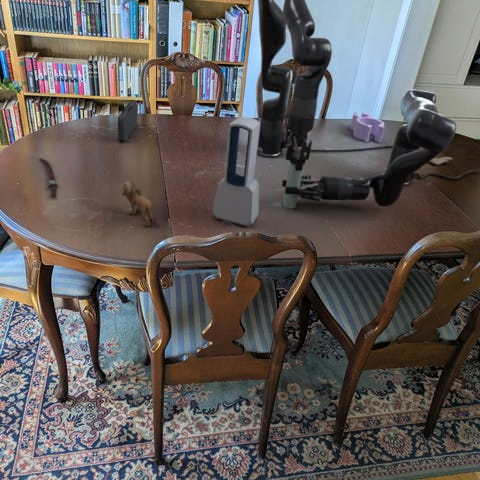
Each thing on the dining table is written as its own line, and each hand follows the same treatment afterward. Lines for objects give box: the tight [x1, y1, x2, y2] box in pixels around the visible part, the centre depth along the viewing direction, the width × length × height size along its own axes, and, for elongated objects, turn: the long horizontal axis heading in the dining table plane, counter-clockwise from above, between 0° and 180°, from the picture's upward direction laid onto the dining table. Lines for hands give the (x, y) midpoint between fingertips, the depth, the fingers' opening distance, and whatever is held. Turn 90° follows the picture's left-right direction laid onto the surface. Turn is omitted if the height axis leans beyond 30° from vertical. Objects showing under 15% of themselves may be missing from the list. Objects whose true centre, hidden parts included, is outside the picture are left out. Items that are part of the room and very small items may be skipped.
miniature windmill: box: [285, 64, 301, 122], centre depth 208 cm, size 9×8×30 cm
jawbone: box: [428, 156, 453, 166], centre depth 197 cm, size 9×20×2 cm, turn 50°
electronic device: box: [211, 116, 261, 227], centre depth 132 cm, size 12×8×30 cm, turn 71°
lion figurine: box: [119, 181, 159, 227], centre depth 134 cm, size 15×5×9 cm, turn 50°
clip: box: [349, 112, 386, 143], centre depth 214 cm, size 20×12×7 cm, turn 11°
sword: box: [40, 158, 59, 198], centre depth 151 cm, size 31×3×1 cm, turn 26°
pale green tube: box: [282, 162, 305, 209], centre depth 146 cm, size 4×4×16 cm
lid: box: [289, 152, 307, 166], centre depth 142 cm, size 5×5×2 cm
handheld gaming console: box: [117, 100, 138, 142], centre depth 188 cm, size 23×3×10 cm, turn 178°
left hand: (293, 164), depth 143 cm, fingers open, 7 cm apart
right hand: (284, 186), depth 147 cm, fingers closed on pale green tube, 4 cm apart
